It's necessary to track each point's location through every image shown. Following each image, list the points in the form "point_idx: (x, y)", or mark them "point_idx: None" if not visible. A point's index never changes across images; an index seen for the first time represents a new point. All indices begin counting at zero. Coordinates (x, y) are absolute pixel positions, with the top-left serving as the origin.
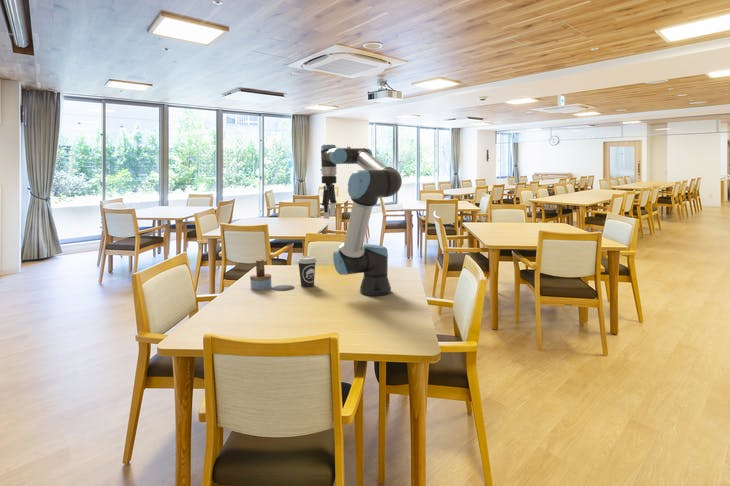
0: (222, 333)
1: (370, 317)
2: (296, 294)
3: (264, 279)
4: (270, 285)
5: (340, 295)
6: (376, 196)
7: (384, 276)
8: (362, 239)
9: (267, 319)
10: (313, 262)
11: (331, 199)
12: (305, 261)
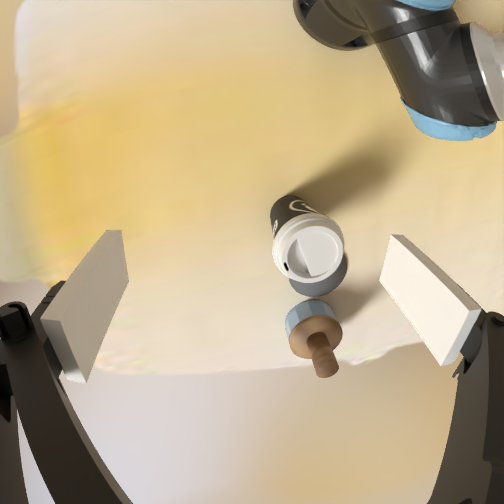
0: None
1: None
2: (370, 223)
3: (338, 322)
4: (314, 304)
5: (380, 105)
6: None
7: None
8: None
9: (491, 235)
10: (331, 219)
11: (75, 417)
12: (343, 248)
